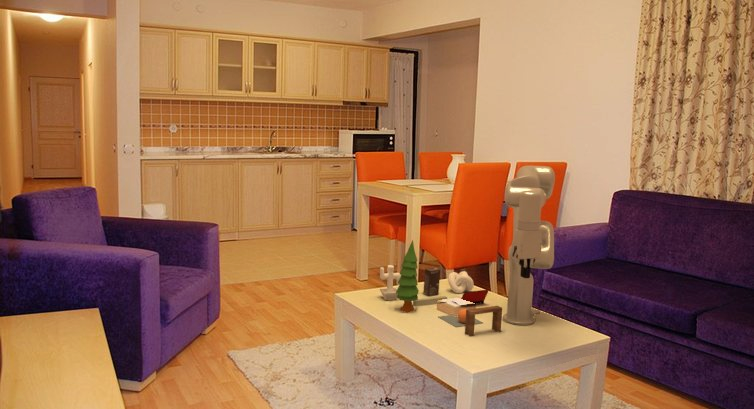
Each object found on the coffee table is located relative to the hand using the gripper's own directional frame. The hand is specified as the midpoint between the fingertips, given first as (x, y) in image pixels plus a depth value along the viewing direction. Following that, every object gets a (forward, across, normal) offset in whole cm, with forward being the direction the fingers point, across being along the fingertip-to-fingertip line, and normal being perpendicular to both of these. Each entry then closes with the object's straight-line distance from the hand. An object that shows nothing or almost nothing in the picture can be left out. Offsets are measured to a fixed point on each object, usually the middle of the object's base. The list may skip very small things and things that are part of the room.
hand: (525, 277), depth 213 cm
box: (+27, -1, -66) cm, 71 cm away
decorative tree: (+26, +20, -49) cm, 59 cm away
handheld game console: (+27, -10, -48) cm, 56 cm away
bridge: (+25, +6, -15) cm, 30 cm away
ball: (+23, +6, -27) cm, 36 cm away
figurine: (+26, +20, -66) cm, 74 cm away
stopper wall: (+26, +6, -53) cm, 60 cm away
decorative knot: (+27, -16, -66) cm, 73 cm away
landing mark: (+26, +6, -30) cm, 40 cm away
